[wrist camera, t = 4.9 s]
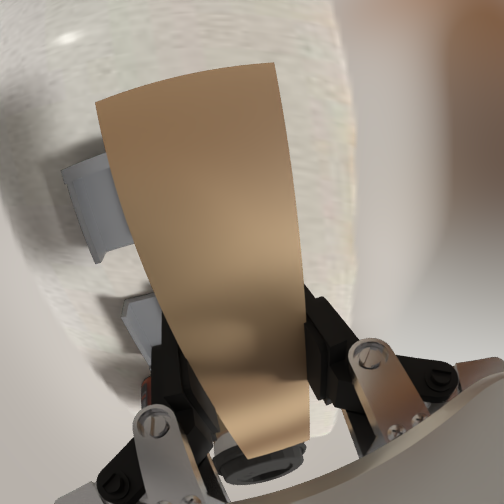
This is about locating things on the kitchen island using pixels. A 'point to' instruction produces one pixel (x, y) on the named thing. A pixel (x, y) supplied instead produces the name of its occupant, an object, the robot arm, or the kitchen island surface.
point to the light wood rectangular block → (220, 239)
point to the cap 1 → (97, 206)
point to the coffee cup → (252, 461)
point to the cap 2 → (143, 322)
